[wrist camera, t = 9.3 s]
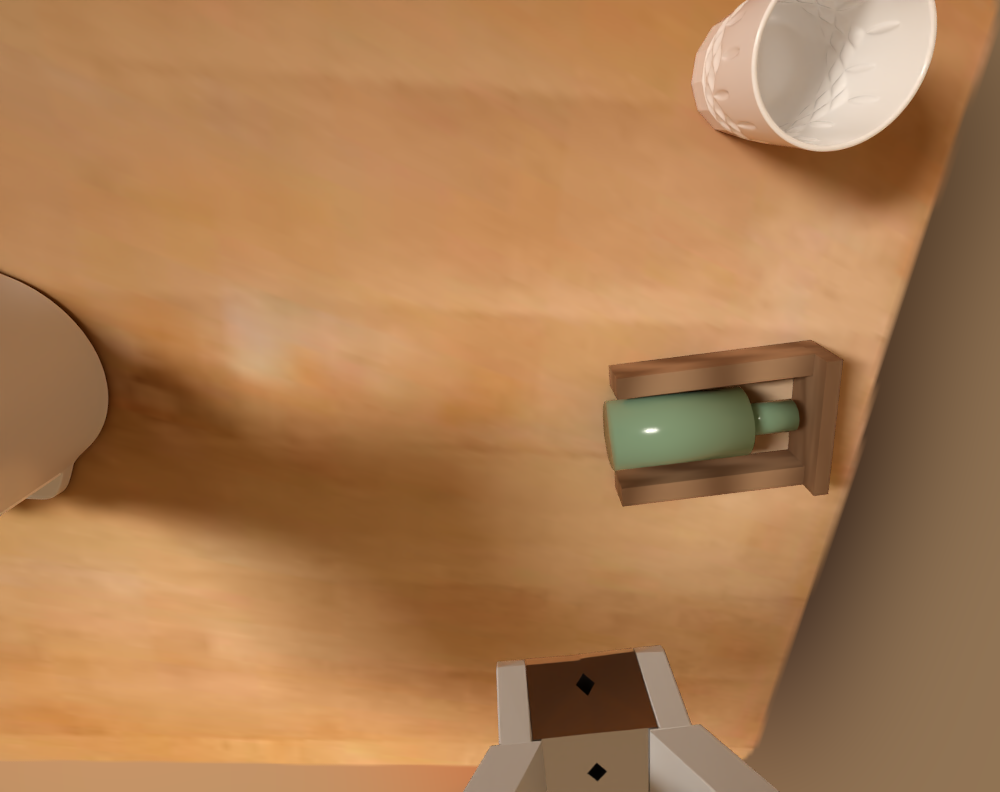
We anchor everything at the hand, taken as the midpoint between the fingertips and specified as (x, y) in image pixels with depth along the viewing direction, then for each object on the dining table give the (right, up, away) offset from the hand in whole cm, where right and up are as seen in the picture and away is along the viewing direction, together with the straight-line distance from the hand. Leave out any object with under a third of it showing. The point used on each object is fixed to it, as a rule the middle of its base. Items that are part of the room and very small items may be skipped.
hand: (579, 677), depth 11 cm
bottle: (+6, +2, +31) cm, 31 cm away
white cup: (+13, +24, +24) cm, 36 cm away
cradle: (+13, +4, +33) cm, 36 cm away
